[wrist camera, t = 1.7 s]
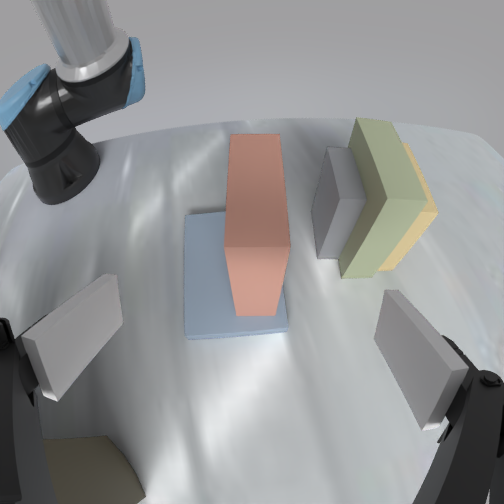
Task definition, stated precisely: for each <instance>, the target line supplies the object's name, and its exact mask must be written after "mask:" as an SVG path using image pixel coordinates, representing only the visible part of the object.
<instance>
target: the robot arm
mask: <svg viewBox="0 0 504 504" xmlns="http://www.w3.org/2000/svg"><path fill="white" fill-rule="evenodd" d="M30 1H31V3H32V5H33V7H34V9H35V11H36V13H37V15H38V17H39V19H40V21H41V23H42V25H43V27H44V29H45V31H46V33H47V35H48V37H49V38H50V40H51V42H52V44H53V46H54V48H55V50H56V51H57V53H58V55H59V57H58V59H57V62H56V68H54V69H52V70H50V66H48V65H47V64H42V65H40V66H37V67H36V68H34V69H32V70H31V71H29V72H28V73H27V74H26V75H24V76H23V77H22V78H20V79H19V80H18V81H17V82H16V83H15V84H14V85H13V86H12V87H11V88H10V89H9V90H8V91H7V92H6V93H5V94H4V96H3V97H2V98H1V100H0V125H1V127H2V130H3V131H4V132H5V134H6V135H7V137H8V138H9V140H10V141H11V143H12V145H13V146H14V148H15V149H16V151H17V152H18V154H19V155H20V156H21V158H22V160H23V161H24V163H25V164H26V166H27V167H28V170H29V174H30V177H31V180H32V182H33V189H34V192H35V194H36V195H37V196H38V198H39V199H40V200H41V201H42V202H43V203H45V204H48V205H55V204H59V203H62V202H65V201H67V200H69V199H71V198H72V197H74V196H76V195H77V194H78V193H80V192H81V191H82V190H83V189H84V188H85V187H86V186H87V185H88V184H89V183H90V182H91V180H92V179H93V177H94V176H95V174H96V172H97V170H98V167H99V163H100V159H99V155H98V153H97V151H96V149H95V147H94V146H93V145H92V144H91V143H90V142H88V141H86V140H85V138H84V137H83V136H82V135H81V134H80V133H79V132H78V131H77V130H76V128H75V127H76V126H78V125H81V124H83V123H85V122H88V121H90V120H93V119H95V118H98V117H101V116H103V115H106V114H108V113H111V112H114V111H117V110H120V109H124V108H126V107H127V106H129V105H131V104H134V103H136V102H138V101H140V100H141V99H142V98H143V96H144V94H145V77H144V70H143V60H142V53H141V47H140V43H139V40H138V38H136V37H132V38H131V37H129V38H128V35H127V34H126V32H125V31H123V30H122V29H120V28H117V27H114V24H113V21H112V17H111V14H110V10H109V6H108V3H107V0H30ZM122 324H123V316H122V310H121V303H120V295H119V287H118V279H117V275H115V274H103V275H102V276H100V277H99V278H97V279H96V280H95V281H93V282H92V283H90V284H89V285H88V286H86V287H85V288H83V289H82V290H81V291H79V292H78V293H76V294H75V295H74V296H72V297H71V298H70V299H68V300H67V301H66V302H64V303H63V304H62V305H60V306H59V307H58V308H56V309H55V310H54V311H52V312H51V313H50V314H47V315H45V316H44V317H42V318H41V319H40V320H38V322H36V323H35V324H33V325H32V327H29V328H28V329H27V330H26V331H24V332H23V333H22V334H21V335H19V336H18V337H17V338H16V339H14V336H13V333H12V330H11V326H10V323H9V320H7V319H6V318H0V504H58V502H57V499H56V495H55V492H54V488H53V485H52V481H51V477H50V473H49V469H48V464H47V460H46V455H45V450H44V444H43V439H42V433H41V426H40V419H39V411H38V401H37V395H36V393H35V390H34V389H35V388H36V387H37V386H38V385H39V386H40V389H41V391H42V393H43V395H44V396H45V397H47V398H50V399H52V400H55V401H59V400H60V398H61V397H62V396H63V395H64V393H65V392H66V391H67V390H68V388H69V387H70V386H71V385H72V383H73V382H74V381H75V380H76V379H77V377H78V376H79V375H80V374H81V372H82V371H83V370H84V369H85V368H86V366H87V365H88V364H89V363H90V362H91V360H92V359H93V358H94V357H95V356H96V355H97V353H98V352H99V351H100V350H101V349H102V348H103V346H104V345H105V344H106V343H107V342H108V341H109V339H110V338H111V337H112V336H113V335H114V334H115V332H116V331H117V330H118V329H119V328H120V327H121V326H122ZM374 340H375V342H376V344H377V346H378V347H379V349H380V351H381V353H382V355H383V356H384V358H385V360H386V362H387V364H388V366H389V368H390V369H391V371H392V373H393V375H394V377H395V379H396V381H397V383H398V385H399V387H400V388H401V390H402V392H403V394H404V396H405V398H406V400H407V402H408V404H409V406H410V408H411V410H412V412H413V414H414V416H415V418H416V420H417V422H418V424H419V426H420V428H421V431H425V430H429V429H434V428H438V427H439V426H440V424H441V422H442V421H443V419H444V417H445V416H446V417H447V419H448V421H449V424H448V425H447V427H446V429H445V430H444V432H443V434H442V435H441V437H440V438H439V440H438V441H437V443H440V445H439V447H438V450H437V452H436V455H435V457H434V460H433V462H432V464H431V467H430V469H429V471H428V473H427V476H426V478H425V480H424V482H423V484H422V486H421V488H420V490H419V492H418V494H417V496H416V498H415V500H414V502H413V504H485V503H486V499H487V496H488V492H489V489H490V499H489V504H504V383H503V380H502V379H501V378H500V377H499V376H498V375H497V374H495V373H493V372H491V371H487V370H481V371H479V370H478V369H477V368H476V367H475V366H474V364H473V363H472V362H471V361H470V360H469V359H468V358H467V356H466V355H463V352H462V351H461V350H460V349H459V348H458V346H457V345H456V344H455V343H454V342H453V341H452V340H450V339H449V338H447V337H445V336H444V335H440V334H439V333H438V331H437V330H436V329H435V328H434V327H433V326H432V325H431V324H430V323H429V322H428V321H427V319H426V318H425V317H424V316H423V315H422V314H421V313H420V312H419V311H418V310H417V309H416V308H415V307H414V306H413V305H412V304H411V303H410V301H409V300H408V299H407V298H406V297H405V296H404V295H403V294H402V293H401V292H400V291H399V290H385V291H384V296H383V301H382V306H381V310H380V315H379V319H378V324H377V328H376V332H375V336H374Z"/></svg>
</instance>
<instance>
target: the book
mask: <svg viewBox="0 0 504 504" xmlns="http://www.w3.org/2000/svg"><path fill="white" fill-rule="evenodd" d="M43 444H44V450H45V455H46V460H47V464H48V469H49V473H50V477H51V481H52V485H53V488H54V492H55V495H56V499H57V502H58V504H137V503H138V502H140V501H141V500H142V499H144V498H145V497H146V496H145V494H144V492H143V489H142V487H141V485H140V482H139V480H138V477H137V475H136V473H135V472H134V470H133V469H132V467H131V466H130V464H129V463H128V461H127V459H126V458H125V456H124V455H123V453H122V452H121V451H120V450H119V449H118V448H117V447H116V446H115V445H114V444H113V442H112V441H111V440H110V439H109V438H108V437H107V436H97V437H85V438H69V439H43Z"/></svg>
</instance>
